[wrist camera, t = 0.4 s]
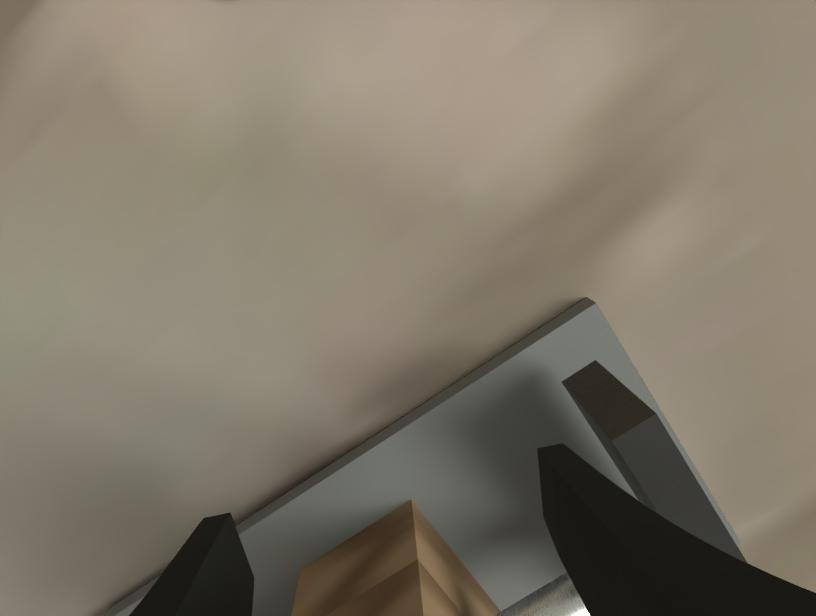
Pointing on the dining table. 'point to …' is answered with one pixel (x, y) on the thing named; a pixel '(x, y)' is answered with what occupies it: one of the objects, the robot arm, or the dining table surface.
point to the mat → (456, 471)
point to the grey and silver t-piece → (631, 478)
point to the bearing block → (391, 574)
